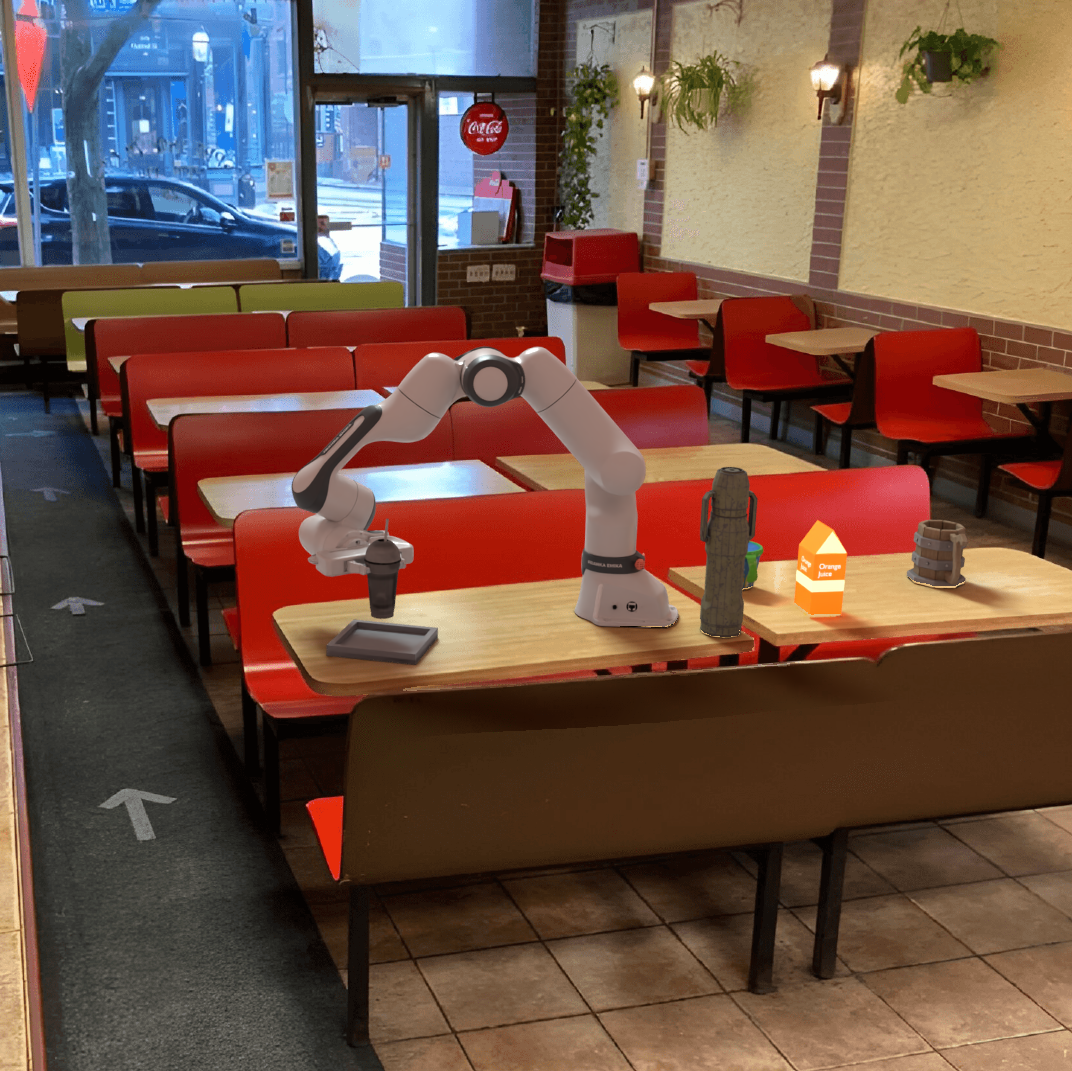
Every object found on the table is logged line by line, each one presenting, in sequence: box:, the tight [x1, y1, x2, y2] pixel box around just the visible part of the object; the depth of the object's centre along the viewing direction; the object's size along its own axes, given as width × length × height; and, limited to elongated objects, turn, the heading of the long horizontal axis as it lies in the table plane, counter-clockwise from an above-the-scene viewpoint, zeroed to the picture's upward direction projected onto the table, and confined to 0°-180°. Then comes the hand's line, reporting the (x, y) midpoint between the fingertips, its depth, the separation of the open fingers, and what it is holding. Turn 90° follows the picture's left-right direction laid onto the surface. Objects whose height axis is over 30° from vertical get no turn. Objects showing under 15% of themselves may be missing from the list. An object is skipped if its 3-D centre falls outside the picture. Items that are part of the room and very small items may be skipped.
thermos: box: [699, 466, 759, 637], centre depth 276 cm, size 9×12×35 cm
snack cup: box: [743, 540, 764, 588], centre depth 310 cm, size 16×10×10 cm
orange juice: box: [793, 519, 848, 615], centre depth 293 cm, size 8×9×20 cm
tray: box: [325, 619, 439, 666], centre depth 265 cm, size 18×16×2 cm
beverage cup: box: [364, 518, 401, 620], centre depth 261 cm, size 7×7×20 cm
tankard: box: [906, 519, 969, 586], centre depth 316 cm, size 20×13×15 cm, turn 3°
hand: (385, 567), depth 260 cm, fingers closed on beverage cup, 7 cm apart
